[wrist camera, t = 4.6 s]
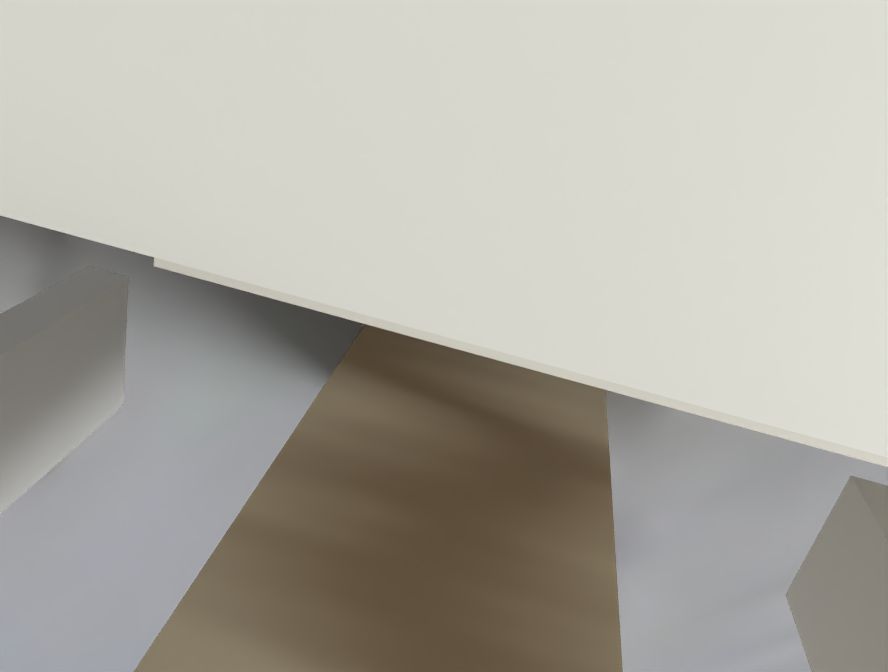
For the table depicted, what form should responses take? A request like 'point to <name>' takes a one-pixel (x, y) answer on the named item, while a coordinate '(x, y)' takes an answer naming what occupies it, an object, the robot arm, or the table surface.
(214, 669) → the hook
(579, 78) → the cabinet
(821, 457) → the table surface
